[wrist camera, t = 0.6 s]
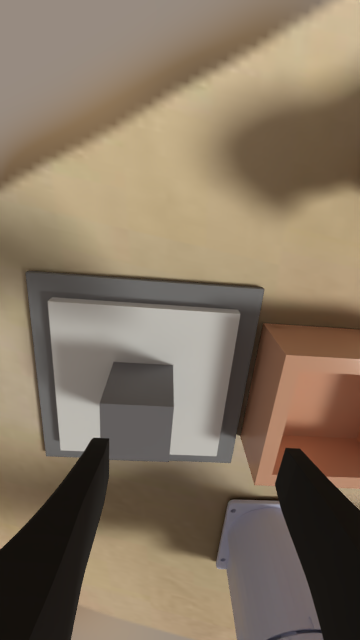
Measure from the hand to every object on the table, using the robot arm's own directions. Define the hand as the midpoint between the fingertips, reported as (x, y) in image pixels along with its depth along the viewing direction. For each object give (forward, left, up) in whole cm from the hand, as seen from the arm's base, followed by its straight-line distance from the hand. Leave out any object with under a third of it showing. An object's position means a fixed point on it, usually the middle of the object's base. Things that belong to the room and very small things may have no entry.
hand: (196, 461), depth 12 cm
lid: (-3, +3, -10) cm, 10 cm away
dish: (-3, -10, -10) cm, 14 cm away
